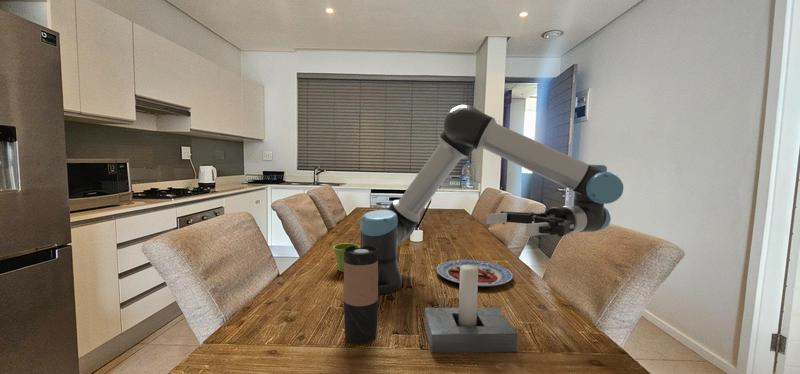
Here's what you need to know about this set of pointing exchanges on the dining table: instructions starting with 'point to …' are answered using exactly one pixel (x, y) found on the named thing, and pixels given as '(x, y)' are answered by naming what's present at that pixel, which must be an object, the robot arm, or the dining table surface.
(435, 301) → the dining table surface
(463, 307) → the peg
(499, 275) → the ceramic plate
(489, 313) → the hole block
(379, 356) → the dining table surface
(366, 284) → the travel mug
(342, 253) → the plant pot
